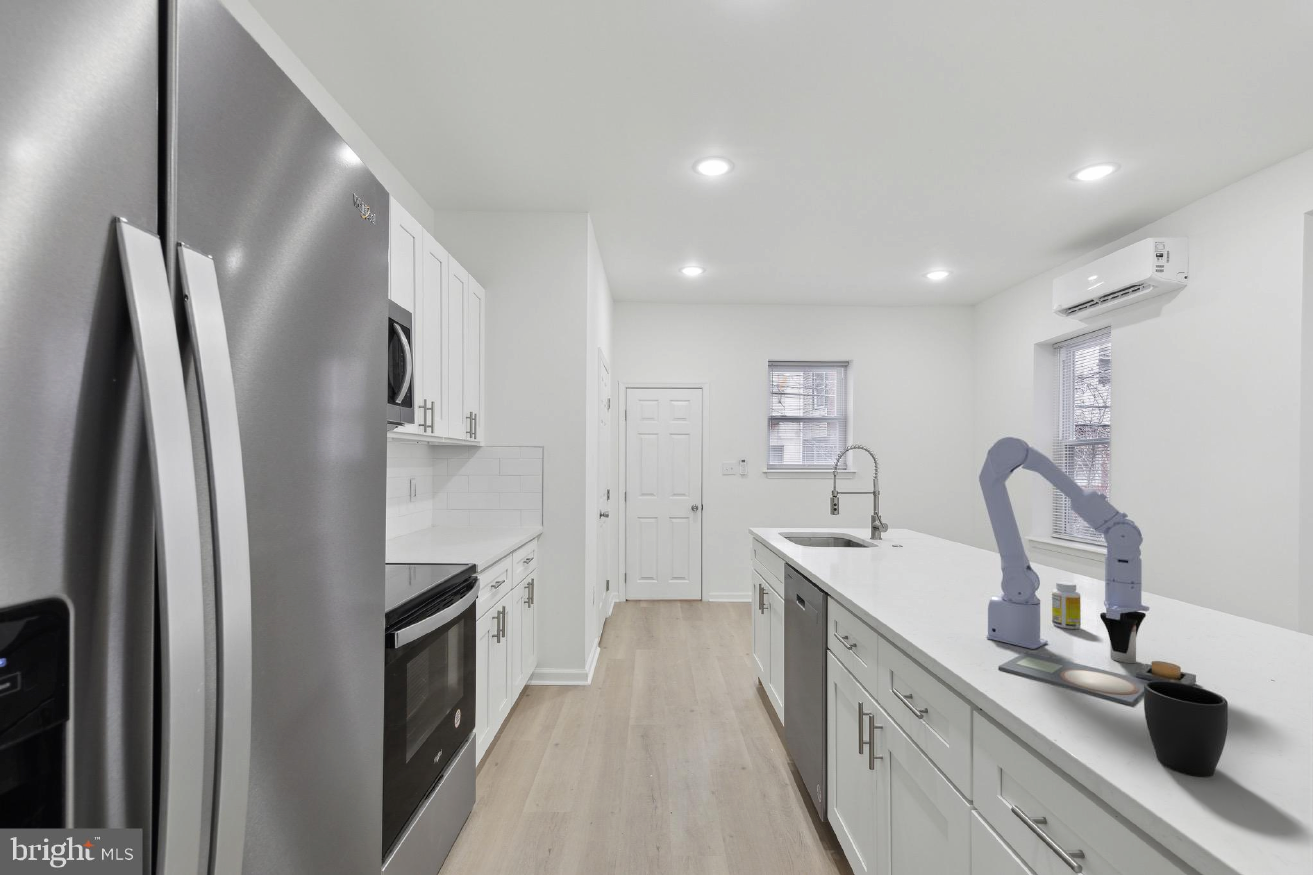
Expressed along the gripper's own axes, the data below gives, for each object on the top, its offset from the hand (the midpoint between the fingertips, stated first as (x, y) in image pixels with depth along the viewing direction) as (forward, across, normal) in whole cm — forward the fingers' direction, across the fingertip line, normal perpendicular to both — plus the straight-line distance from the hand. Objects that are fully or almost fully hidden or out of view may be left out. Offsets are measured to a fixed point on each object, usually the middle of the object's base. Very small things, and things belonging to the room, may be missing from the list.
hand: (1123, 649), depth 118 cm
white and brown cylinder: (+2, 0, 0) cm, 2 cm away
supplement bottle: (+2, +18, +15) cm, 24 cm away
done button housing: (+2, -8, -8) cm, 11 cm away
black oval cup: (+2, -42, -16) cm, 45 cm away
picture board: (+2, -19, +3) cm, 19 cm away
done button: (+1, -8, -8) cm, 11 cm away
